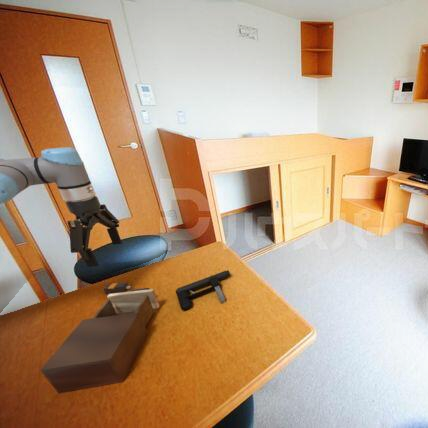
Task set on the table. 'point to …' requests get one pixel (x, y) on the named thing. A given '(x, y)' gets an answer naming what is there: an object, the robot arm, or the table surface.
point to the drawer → (130, 304)
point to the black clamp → (215, 286)
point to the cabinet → (96, 353)
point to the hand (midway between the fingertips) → (106, 254)
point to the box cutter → (116, 287)
